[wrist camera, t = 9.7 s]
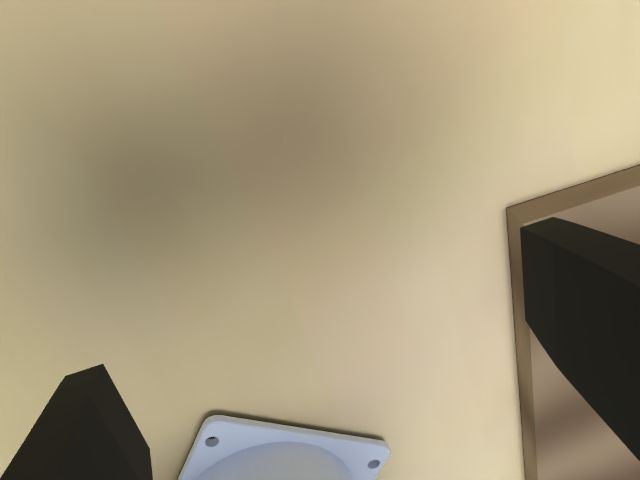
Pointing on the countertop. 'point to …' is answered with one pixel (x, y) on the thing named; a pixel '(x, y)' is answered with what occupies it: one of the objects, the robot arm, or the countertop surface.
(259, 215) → the countertop surface
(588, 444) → the gear board
